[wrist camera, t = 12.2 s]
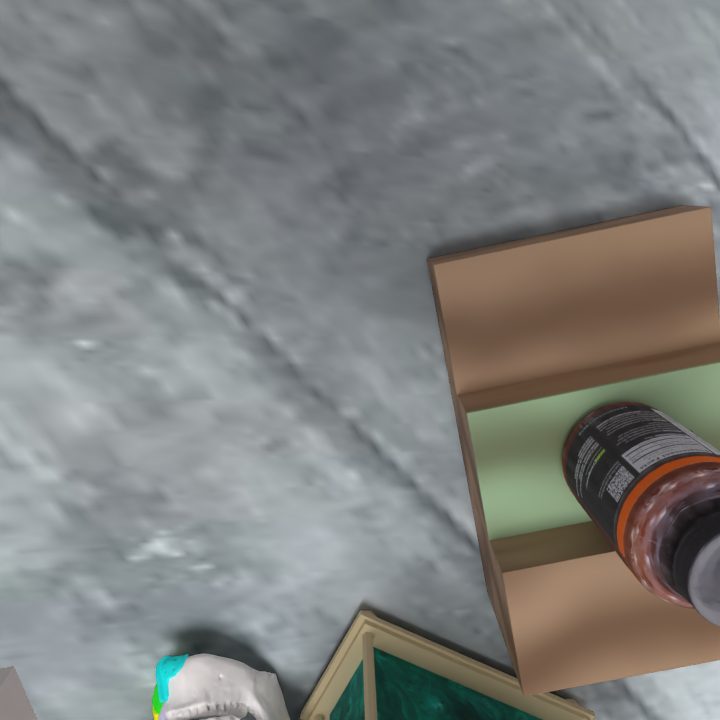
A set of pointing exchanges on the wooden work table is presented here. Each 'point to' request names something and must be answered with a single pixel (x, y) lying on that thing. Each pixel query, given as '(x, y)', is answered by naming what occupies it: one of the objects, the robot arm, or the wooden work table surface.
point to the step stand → (560, 416)
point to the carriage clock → (421, 682)
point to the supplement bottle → (652, 499)
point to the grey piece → (215, 690)
